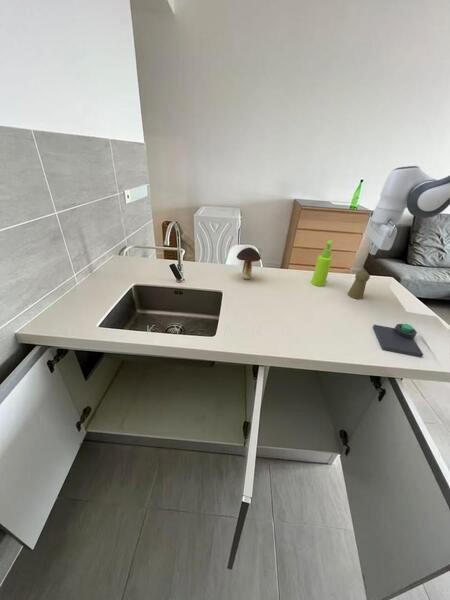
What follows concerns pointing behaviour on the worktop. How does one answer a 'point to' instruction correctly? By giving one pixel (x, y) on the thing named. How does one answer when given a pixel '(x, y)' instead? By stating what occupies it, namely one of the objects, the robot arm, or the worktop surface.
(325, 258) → the soap dispenser
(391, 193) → the robot arm
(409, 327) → the power button
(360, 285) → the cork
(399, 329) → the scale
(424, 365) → the worktop surface
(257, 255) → the decorative mushroom
